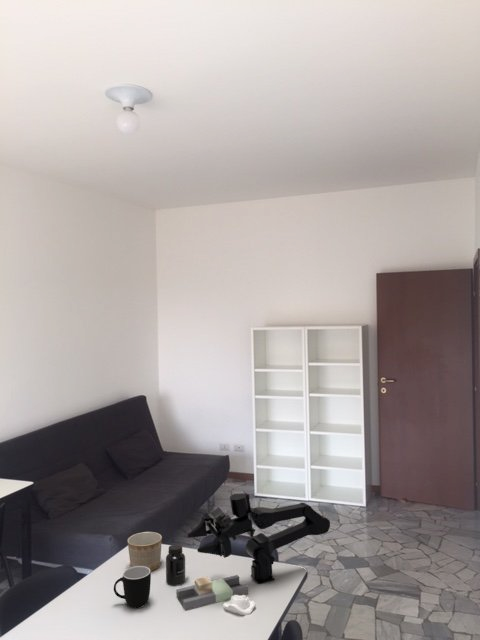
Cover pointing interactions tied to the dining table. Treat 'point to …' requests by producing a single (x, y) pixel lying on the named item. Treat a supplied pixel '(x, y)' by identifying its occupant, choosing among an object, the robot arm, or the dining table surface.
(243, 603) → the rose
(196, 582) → the birch block
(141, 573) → the mug
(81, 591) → the dining table surface
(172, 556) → the supplement bottle
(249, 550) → the robot arm
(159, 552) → the planter
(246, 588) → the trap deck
